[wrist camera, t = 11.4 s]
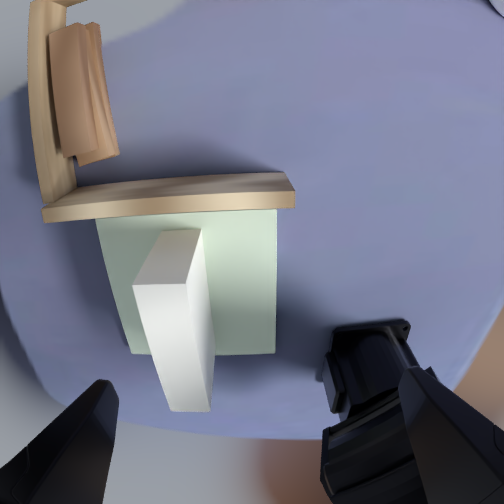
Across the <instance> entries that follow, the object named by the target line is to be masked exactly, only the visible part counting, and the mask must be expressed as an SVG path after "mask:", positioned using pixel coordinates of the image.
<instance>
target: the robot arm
mask: <svg viewBox="0 0 504 504" xmlns="http://www.w3.org/2000/svg"><path fill="white" fill-rule="evenodd" d="M403 327H404V328H403ZM410 328H411V325H410V324H409V322H408V321H398V322H389V323H381V324H372V325H362V326H352V327H341V328H336V329H335V330H334V331H333V332H332V337H331V343H330V349H329V352H327V353H326V355H325V359H324V365H323V371H322V378H323V382H324V386H325V390H326V394H327V398H328V403H329V407H330V411H331V412H332V413H333V414H337V413H338V414H339V418H340V421H341V422H340V423H338V424H336V425H334V426H332V427H328V428H326V429H324V430H323V436H322V454H321V470H320V472H321V474H320V481H321V483H322V484H323V487H324V489H325V491H326V493H327V495H328V497H329V498H330V500H331V502H332V503H333V504H504V431H503V430H502V429H500V428H499V427H498V426H497V425H494V423H492V422H491V421H490V420H489V419H487V418H486V417H485V416H483V415H482V414H481V413H480V412H478V411H477V410H475V409H474V408H473V407H472V406H470V405H469V404H468V403H466V402H465V401H464V400H462V399H461V398H460V397H459V396H457V395H456V394H455V393H453V392H452V391H451V390H449V389H448V388H447V387H445V386H444V385H443V384H442V383H441V382H440V380H439V379H438V377H437V376H436V374H435V372H434V371H433V369H432V368H431V366H430V367H429V368H427V369H426V370H423V369H422V368H421V367H420V365H419V364H418V362H417V360H416V358H415V356H414V354H413V353H412V351H411V349H410V347H409V345H408V344H407V342H406V341H407V338H408V335H409V331H410ZM338 334H340V335H338ZM118 408H119V398H118V395H117V393H116V391H115V389H114V387H113V385H112V383H111V382H110V381H109V380H102V379H99V380H96V381H95V382H94V383H93V384H92V385H91V386H90V387H89V388H88V389H87V390H86V391H84V392H83V393H82V394H81V395H80V396H79V397H78V398H77V399H76V400H75V401H74V402H73V403H72V404H70V405H69V406H68V407H67V408H66V409H65V410H64V411H63V412H62V413H61V414H60V415H59V416H58V417H57V418H55V419H54V420H53V421H52V423H50V424H49V425H48V426H47V427H46V428H45V429H44V430H43V431H42V432H41V433H39V434H38V435H37V436H36V437H35V438H34V439H33V440H32V441H31V442H30V443H29V444H28V445H27V446H26V447H24V448H23V449H22V450H21V451H20V452H19V453H18V454H17V455H16V456H15V457H14V458H12V459H11V460H10V461H9V462H8V463H7V464H5V465H4V466H3V467H2V468H0V504H102V503H103V498H104V492H105V487H106V481H107V476H108V471H109V467H110V462H111V457H112V453H113V448H114V442H115V433H116V424H117V416H118Z"/></svg>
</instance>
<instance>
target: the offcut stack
mask: <svg viewBox="0 0 504 504" xmlns="http://www.w3.org/2000/svg"><path fill="white" fill-rule="evenodd" d="M49 43H50V61H51V74H52V85H53V95H54V103H55V111H56V118H57V125H58V131H59V137H60V143H61V148H62V154H63V158H67V157H70V156H74V155H76V157H77V160H78V164H79V167H81V166H83V165H86V164H89V163H93V162H96V161H100V160H104V159H107V158H111V157H115V156H117V155H119V154H120V152H119V148H118V143H117V139H116V134H115V129H114V124H113V119H112V114H111V108H110V103H109V97H108V91H107V85H106V79H105V73H104V66H103V59H102V52H101V45H102V40H101V31H100V25H99V24H96V23H94V22H91V23H89V24H86V25H83V24H80V23H74V24H72V25H70V26H67V27H64V28H62V29H60V30H57V31H55V32H53V33H51V34H49Z"/></svg>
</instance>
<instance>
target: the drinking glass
mask: <svg viewBox="0 0 504 504" xmlns="http://www.w3.org/2000/svg"><path fill="white" fill-rule="evenodd" d="M489 1H490V2H491V4H492V5H493V6H494V8H495V9H496V10H497V11H498V12H499V13H500V14H501V15H502V16H503V17H504V0H489Z"/></svg>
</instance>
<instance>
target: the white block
mask: <svg viewBox="0 0 504 504" xmlns="http://www.w3.org/2000/svg"><path fill="white" fill-rule="evenodd" d="M132 287H133V291H134V295H135V298H136V302H137V306H138V310H139V313H140V317H141V321H142V324H143V328H144V331H145V335H146V338H147V341H148V345H149V348H150V351H151V354H152V357H153V361H154V364H155V367H156V370H157V373H158V376H159V379H160V382H161V385H162V387H163V390H164V393H165V396H166V399H167V401H168V404H169V407H170V410H171V411H183V412H211V399H212V386H213V374H214V362H215V351H216V343H215V335H214V328H213V321H212V313H211V306H210V298H209V290H208V282H207V273H206V265H205V256H204V247H203V237H202V229H189V230H171V231H162V232H161V233H160V235H159V237H158V239H157V240H156V242H155V244H154V246H153V247H152V249H151V251H150V253H149V255H148V256H147V258H146V260H145V262H144V264H143V265H142V267H141V269H140V271H139V273H138V275H137V277H136V278H135V280H134V282H133V284H132Z"/></svg>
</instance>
